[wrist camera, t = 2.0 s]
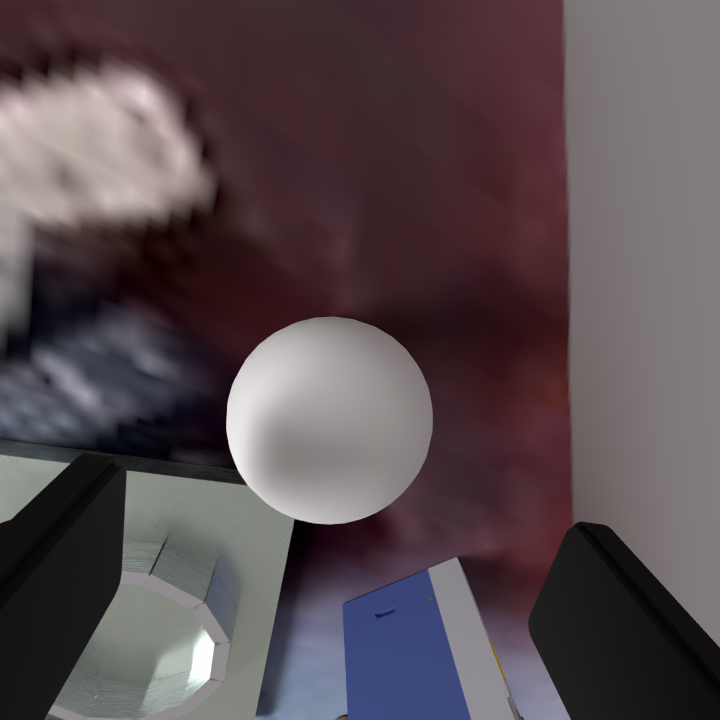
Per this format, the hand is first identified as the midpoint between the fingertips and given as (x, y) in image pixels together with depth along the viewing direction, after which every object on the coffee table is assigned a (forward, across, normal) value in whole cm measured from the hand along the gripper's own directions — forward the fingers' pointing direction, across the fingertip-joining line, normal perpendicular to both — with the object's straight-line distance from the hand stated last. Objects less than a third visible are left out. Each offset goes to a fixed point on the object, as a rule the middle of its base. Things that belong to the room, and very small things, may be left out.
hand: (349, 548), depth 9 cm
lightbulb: (+13, +1, -1) cm, 13 cm away
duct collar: (+13, +9, +17) cm, 23 cm away
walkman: (+13, -7, +15) cm, 21 cm away
